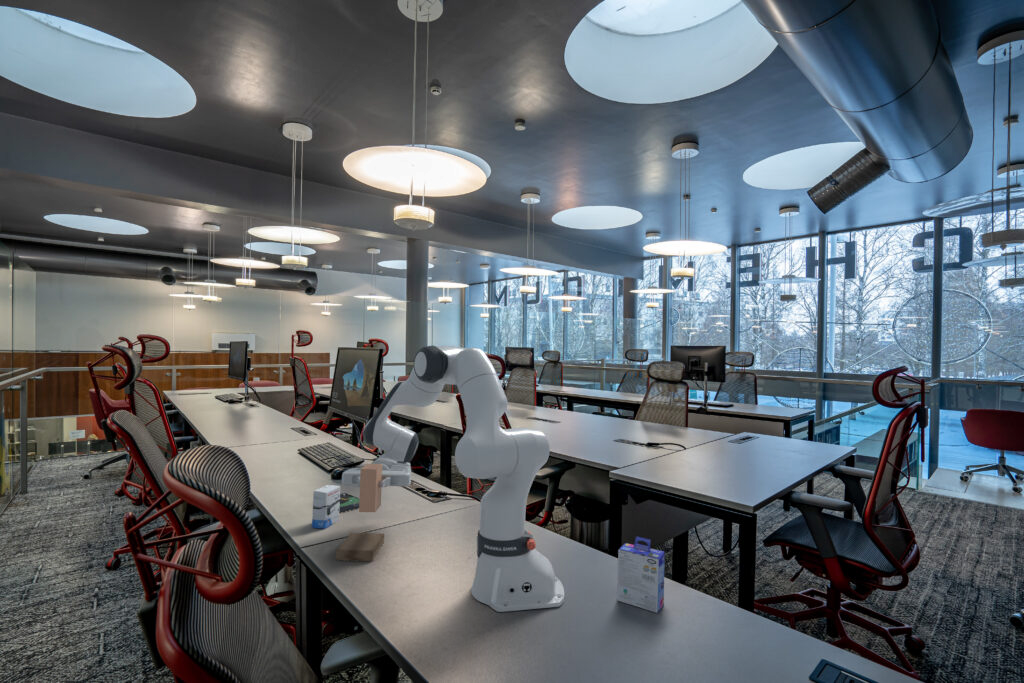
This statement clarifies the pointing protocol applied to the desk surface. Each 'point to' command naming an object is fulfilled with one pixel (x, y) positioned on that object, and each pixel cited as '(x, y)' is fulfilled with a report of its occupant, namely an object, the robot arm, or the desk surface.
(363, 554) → the plinth
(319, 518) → the ink box
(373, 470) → the terracotta block
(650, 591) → the ink cartridge box
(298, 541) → the desk surface
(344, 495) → the disk drive
